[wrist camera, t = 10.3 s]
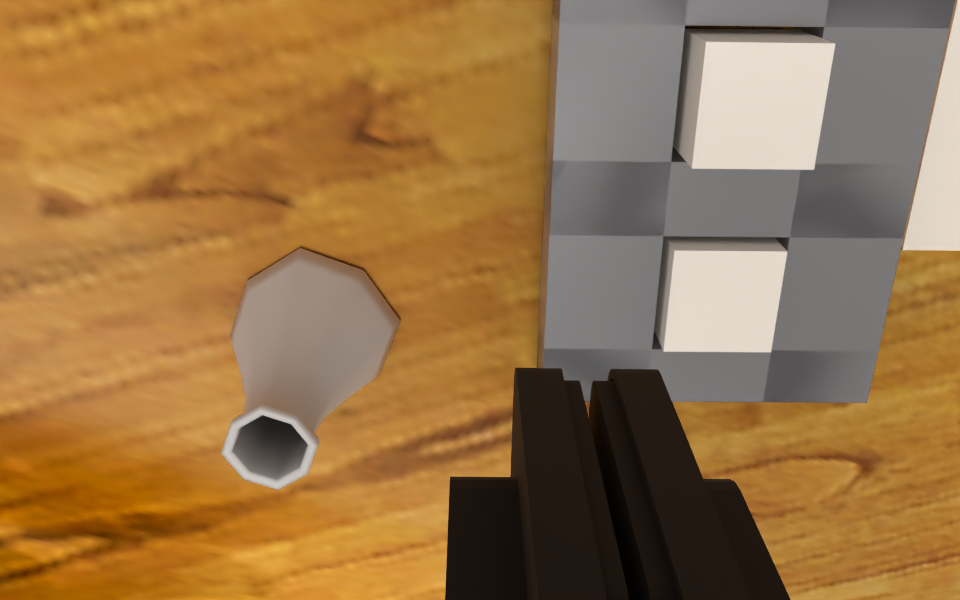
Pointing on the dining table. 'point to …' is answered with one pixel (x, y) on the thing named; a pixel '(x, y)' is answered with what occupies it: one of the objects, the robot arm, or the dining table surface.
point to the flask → (301, 359)
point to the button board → (729, 194)
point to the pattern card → (940, 160)
